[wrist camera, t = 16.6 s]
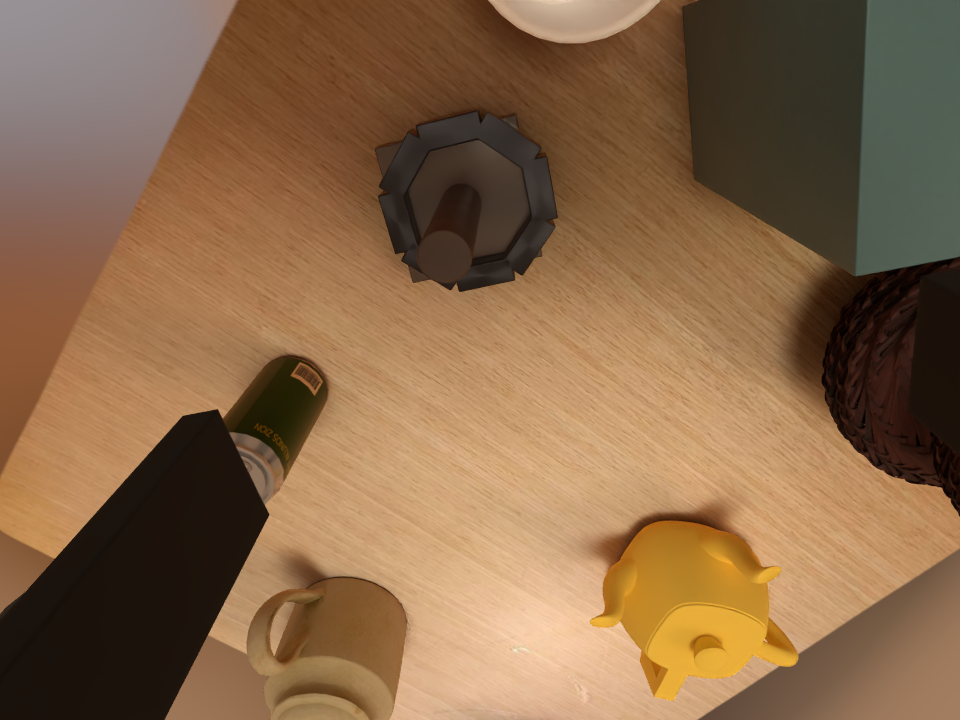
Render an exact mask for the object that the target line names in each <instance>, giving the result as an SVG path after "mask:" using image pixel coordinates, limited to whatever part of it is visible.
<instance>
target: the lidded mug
mask: <svg viewBox="0 0 960 720" xmlns="http://www.w3.org/2000/svg"><path fill="white" fill-rule="evenodd" d="M285 602H295V603H296V604H295V606H294V609H293V611H292V614H291V616H290V619H289V621H288V623H287V626H286V628H285V631H284V633H283V636H282V638H281V640H280V643H279V646H278V648H277V651H276V654H275V657H274V655H273V653H272V650H271V647H270V631H271V626H272V622H273V619H274V617H275V615H276V613H277V612H278V610H279V609H280V608H281V606H282V605H283V604H284V603H285ZM406 625H407V621H406V615H405V613H404V610H403V608H402V606H401V605H400V603H399V602H398V601H397V600H396V598H395V597H394V596H392V595H391V594H390V593H389V592H387V591H386V590H384V589H383V588H381V587H379V586H377V585H375V584H373V583H370V582H367V581H364V580H360V579H353V578H332V579H327V580H323V581H321V582H318V583H316V584H314V585H312V586H310V587H309V588H307V589H306V590H305V589H289V590H286V591H282V592H280V593H278V594H276V595H274V596H273V597H271V598H270V599H269V600H267V601H266V602H265V603H264V604H263V605H262V606H261V607H260V608H259V610H258V611H257V613H256V614H255V616H254V618H253V620H252V622H251V625H250V628H249V631H248V638H247V653H248V657H249V661H250V663H251V665H252V666H253V667H254V669H255V671H256V672H257V673H259V674H261V675H267V679H266V682H265V685H264V697H265V701H266V703H267V705H268V707H269V709H270V710H271V712H272V713H271V715H270V720H389V719H390V717H391V715H392V712H393V708H394V704H395V698H396V693H397V688H398V682H399V677H400V671H401V664H402V657H403V650H404V642H405V635H406Z"/></svg>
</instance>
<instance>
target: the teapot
mask: <svg viewBox="0 0 960 720" xmlns="http://www.w3.org/2000/svg"><path fill="white" fill-rule="evenodd" d="M780 572H781V568H780V567H777V566H770V567H762V566H761V563H760V561H759V559H758V557H757V556H756V555H755V554H754V553H753V551H752V550H751V548H750V546H749V545H748V544H747V543H746V542H745V541H744V540H743V539H741V538H740V537H738V536H736V535H734V534H732V533H729V532H724V531H719V530H717V529H714V528H711V527H708V526H705V525H701V524H698V523H692V522H684V521H659V522H655V523H651V524H649V525H647V526H646V527H644V528H643V529H642V530H641V531H640V532H639V533H638V534H637V535H636V536H635V538H634V539H633V540H632V542H631V543H630V544H629V546H628V547H627V549H626V550H625V552H624V553H623V555H622V557H621V559H620V561H619V562H617V563H616V564H615V565H613V566H612V567H611V568H610V569H609V571H608V573H607V575H606V577H605V579H604V582H603V597H604V603H605V610H604V612H603V614H601V615H599V616H597V617H595V618H593V619H592V620H591V621H590V624H591V625H593V626H596V627H612V626H614V625H616V624H618V623H619V621H621V623H622V625H623V626H624V628H625V630H626V631H627V633H628V634H629V635H630V637H631V638H632V639H633V641H634V642H635V643H636V644H637V645H638V647H639V648H640V649H641V650H642V651H641V657H640V663H641V665H642V668H643V670H644V673H645V675H646V678H647V680H648V683H649V685H650V688H651V690H652V693H653V695H654V697H657V698H662V699H666V700H671V701H673V700H674V699H675V697H676V695H677V693H678V691H679V689H680V688H681V686H682V684H683V682H684V680H685V679H686V677H687V675H689V676H694V677H701V678H725V677H729V676H732V675H734V674H735V673H737V672H738V671H739V670H740V669H741V668H742V667H743V666H744V665H745V664H746V663H747V662H748V661H749V660H750V659H751V657H752V656H753V655H755V656H757V657H759V658H761V659H763V660H766V661H768V662H770V663H773V664H776V665H780V666H786V667H789V666H792V665H794V664H796V662H797V660H798V654H797V651H796V649H795V647H794V646H793V644H792V643H791V641H790V640H789V639H788V637H787V636H786V635H785V634H784V632H783V631H782V630H781V629H780V628H779V627H778V626H777V625H776V624H775V623H774V622H773V621H772V620H771V619H770V618H769V594H768V586H767V582H769V581H771V580H773V579H774V578H775V577H777V576H778V575H779V574H780ZM764 639H766V640H767V642H768V643H767V642H765V641H764Z"/></svg>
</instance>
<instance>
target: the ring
mask: <svg viewBox="0 0 960 720" xmlns="http://www.w3.org/2000/svg"><path fill="white" fill-rule="evenodd" d="M416 129H417V132H416V131H414V130H413V129H411V130H410V131H408V132H407V134H406V136H405V138H404V140H403V142H402V144H401V146H400V147H399V149H398V151H397V153H396V155H395V157H394V159H393V161H392V162H391V164H390V166H389V168H388V170H387V172H386V174H385V176H384V177H383V179H382V181H381V183H380V185H379V187H380V188H381V189H383V190H384V191H383V192H382V193H381V194H380V195H379V196H378V198H379V202H380V205H381V208H382V212H383V215H384V218H385V221H386V225H387V228H388V231H389V235H390V238H391V241H392V245H393V248H394V251H395V254H398V253H403V252H405V254H404V256H403V258H402V259H401V261H402V262H404V263H405V264H407V265H409V266H410V267H412V268H414V269H415V270H417V271H419V272H420V273H422V274H424V273H423V272H422V271H421V269H420V267H419V265H418V261H417V250H418V246H419V244H420V242H421V240H422V238H420V234H419V231H418V227H417V223H416V220H415V216H414V213H413V209H412V205H411V202H410V198H409V195H408V190H409V188H410V186H411V184H412V183H413V181H414V179H415V177H416V175H417V174H418V172H419V170H420V168H421V166H422V165H423V163H424V161H425V159H426V157H427V156H428V154H429V152H430V151H433V150H437V149H442V148H446V147H450V146H454V145H458V144H462V143H466V142H470V141H474V140H480V141H481V142H483V143H484V144H486V145H487V146H489V147H490V148H492V149H493V150H495V151H496V152H498V153H499V154H501V155H503V156H504V157H506V158H507V159H509V160H510V161H512V162H513V163H515V164H516V165H518V166H519V167H521V168H522V172H523V177H524V182H525V187H526V192H527V198H528V203H529V208H530V215H529V216H528V218H527V219H526V221H525V222H524V224H523V225H522V227H521V228H520V230H519V231H518V233H517V234H516V236H515V237H514V239H513V240H512V242H511V243H510V245H509V246H508V248H507V249H506V251H505V252H503V253H498V254H494V255H489V256H485V257H480V258H475V259H472V264H471V267H470V269H469V271H468V272H467V274H466V275H465V276H464V277H463V278H461V279H460V280H458V281H456V282H457V286H458V290H459V292H462V291H467V290H472V289H476V288H481V287H486V286H491V285H495V284H500V283H505V282H510V281H514V280H515V272H517V273H519V274H520V275H523V274H524V273H525V271H526V270H527V268H528V267H529V265H530V264H531V262H532V261H533V260H534V258H535V257H536V255H537V254H538V252H539V251H540V249H541V248H542V246H543V245H544V244H545V242H546V241H547V239H548V238H549V236H550V235H551V233H552V232H553V230H554V229H555V223H554V221H553V220H552V219H556V218H558V216H557V210H556V204H555V199H554V193H553V187H552V182H551V176H550V170H549V165H548V159H547V156H546V154H545V153H541V154H538V153H539V152H540V150H541V146H540V144H538V143H537V142H535V141H534V140H533V139H531V138H530V137H528V136H527V135H525V134H524V133H522V132H521V131H519V130H518V129H516V128H515V127H513V126H512V125H510V124H509V123H507V122H506V121H504V120H503V119H501V118H500V117H499V116H497V115H496V114H494V113H493V112H491V111H490V110H488V111H487V113H486V114H485V116H484V118H483V119H482V118H481V114H480V109H478V108H477V109H473V110H469V111H465V112H461V113H457V114H453V115H449V116H445V117H441V118H437V119H433V120H429V121H425V122H421V123H419V124H418V125H416ZM424 275H425V274H424ZM425 276H426V275H425ZM456 282H453V283H439V284H441V285H442V286H444V287H446V288H447V289H449V290H452V288H453V287H454V285H455V284H456ZM437 283H438V282H437Z"/></svg>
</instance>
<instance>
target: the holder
mask: <svg viewBox="0 0 960 720" xmlns="http://www.w3.org/2000/svg"><path fill="white" fill-rule="evenodd" d="M500 118H501V119H503V120H504V121H506V122H507V123H509V124H510V125H512V126H513V127H515V128H516V129H518V130H519V127H518V122H517V116H516V113H513V114H509V115H505V116H501V117H500ZM402 142H403V140H401V141H396V142H392V143H388V144H384V145H380V146H378V147H376V148H375V152H376V156H377V159H378V162H379V166H380V169H381V173H382V176H383V177H384V176H385V174H386V172H387V170H388V168H389V166H390V164H391V162H392V161H393V159H394V157H395V155H396V153H397V151H398V149H399V147H400V146H401V144H402ZM408 195H409V198H410V202H411V205H412V209H413V213H414V216H415V220H416V223H417V227H418V231H419V234H420V238H422V240H421V242H420V244H419V246H418V250H417V261H418V265H419V267H420V269H421V271H422V272H423V273H424V274H425V275H426V276H425V275H424V274H422V273H420V272H419V271H417V270H415V269H414V268H412V267H410V266H409V265H408V267H409V271H410V274H411V278H412V281H413V283H416V282H420V281H425V280H430V279H431V280H433V281H435V282H438V283H453V282H456V281H458V280H460V279H461V278H463V277H464V276H465V275H466V274H467V272H468V271H469V269H470V267H471V264H472V259H475V258H480V257H485V256H489V255H494V254H498V253H503V252H505V251H506V249H507V248H508V246H509V245H510V243H511V242H512V240H513V239H514V237H515V236H516V234H517V233H518V231H519V230H520V228H521V227H522V225H523V224H524V222H525V221H526V219H527V218H528V216H529V215H530V208H529V203H528V198H527V192H526V187H525V182H524V177H523V172H522V168H521V167H519V166H518V165H516V164H515V163H513V162H512V161H510V160H509V159H507V158H506V157H504V156H503V155H501V154H499V153H498V152H496V151H495V150H493V149H492V148H490V147H489V146H487V145H486V144H484V143H483V142H481V141H480V140H474V141H470V142H466V143H462V144H458V145H454V146H450V147H446V148H442V149H437V150H433V151H430V152H429V154H428V156H427V157H426V159H425V161H424V163H423V165H422V166H421V168H420V170H419V172H418V174H417V175H416V177H415V179H414V181H413V183H412V184H411V186H410V188H409V190H408ZM404 253H405V252H404ZM541 256H542V251H541V249H540V251H539V252H538V254H537V255H536V257H541ZM536 257H535V258H536Z"/></svg>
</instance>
